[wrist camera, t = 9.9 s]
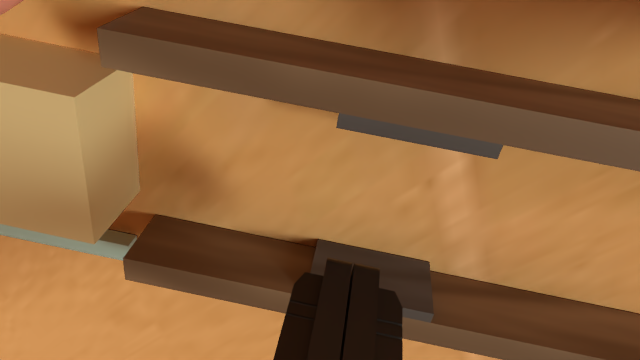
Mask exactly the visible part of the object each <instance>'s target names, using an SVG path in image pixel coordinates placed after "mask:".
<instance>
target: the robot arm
mask: <svg viewBox="0 0 640 360" xmlns="http://www.w3.org/2000/svg"><path fill="white" fill-rule="evenodd" d="M351 270H352V272H351ZM379 279H380V269H379V268H375V267H370V266H365V265H361V264H356V263H354V265H353V268H352V263H351V262H346V261H342V260H337V259H332V258H328V257H327V261H326V266H325V270H324V275H323V276H321V275H317V274H312V273H307V272H305V273H304V274H303V275H302V276H301V277H300V278H299V279H298V280H297V281H296V282H295V283H294V286H293V289H292V293H291V297H290V301H289V304H288V308H287V312H286V316H285V319H284V323H283V326H282V330H281V334H280V337H279V341H278V345H277V348H276V352H275V356H274V359H273V360H402V317H403V307H402V305H401V303H400V301H399V299H398V297H397V294H396V292H395V291H391V290H387V289H382V288H379Z"/></svg>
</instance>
